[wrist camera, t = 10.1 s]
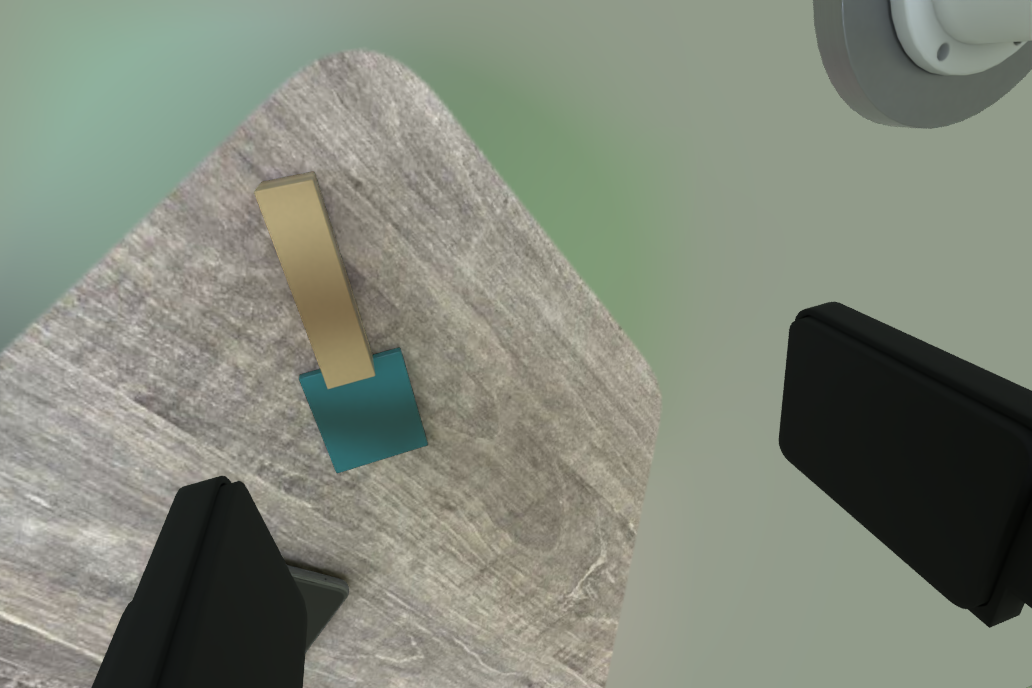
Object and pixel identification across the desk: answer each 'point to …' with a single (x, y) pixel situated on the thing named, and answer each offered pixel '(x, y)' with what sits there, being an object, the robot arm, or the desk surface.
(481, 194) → the desk surface
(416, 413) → the spatula
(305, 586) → the smartphone
